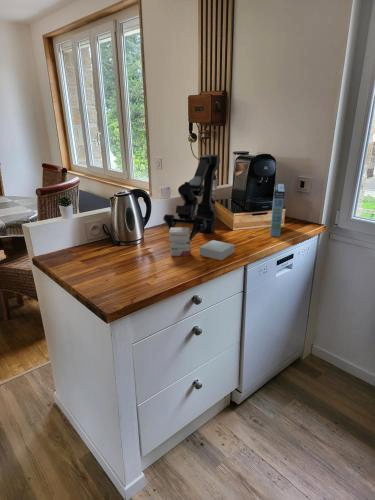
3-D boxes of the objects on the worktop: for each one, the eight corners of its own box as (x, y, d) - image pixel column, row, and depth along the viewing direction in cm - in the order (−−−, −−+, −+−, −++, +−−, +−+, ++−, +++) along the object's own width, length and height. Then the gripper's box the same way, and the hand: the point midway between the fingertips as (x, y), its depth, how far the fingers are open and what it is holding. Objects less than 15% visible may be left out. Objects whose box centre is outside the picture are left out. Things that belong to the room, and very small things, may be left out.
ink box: (191, 250, 150) (190, 226, 143) (190, 256, 146) (189, 232, 139) (171, 249, 151) (170, 226, 144) (170, 255, 146) (168, 232, 140)
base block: (199, 255, 147) (199, 247, 146) (212, 248, 156) (212, 239, 154) (221, 261, 141) (221, 252, 140) (233, 253, 150) (234, 244, 148)
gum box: (270, 225, 186) (274, 183, 178) (280, 225, 185) (284, 183, 177) (270, 236, 168) (273, 190, 160) (280, 237, 167) (284, 191, 159)
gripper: (164, 196, 147) (153, 227, 141) (204, 198, 140) (195, 231, 134) (172, 209, 156) (162, 239, 151) (210, 213, 150) (202, 244, 144)
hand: (180, 238), depth 145 cm, fingers open, 9 cm apart
